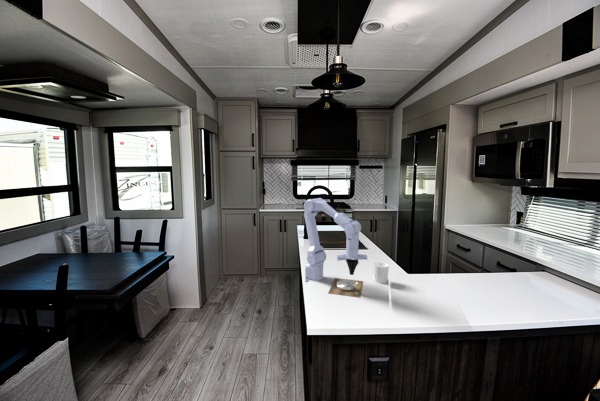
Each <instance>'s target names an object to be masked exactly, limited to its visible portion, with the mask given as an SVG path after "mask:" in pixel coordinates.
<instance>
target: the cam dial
mask: <svg viewBox="0 0 600 401" xmlns="http://www.w3.org/2000/svg"><path fill="white" fill-rule="evenodd" d="M351 280H352V279H348V280H340V281H338V282H337V283H336V287H337V288H338V289H340V290H343V291H353V290H356V291H357V292H360V291H361V282H359V281H360V280H357V282H356V283H355V282H354V281H351ZM361 292H362V291H361Z"/></svg>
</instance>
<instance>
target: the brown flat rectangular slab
mask: <svg viewBox="0 0 600 401" xmlns="http://www.w3.org/2000/svg"><path fill="white" fill-rule="evenodd" d="M340 280H349V279H347V278H339V277H334V279H333V281H332V283H331V285H330V288H329V290H328V293H327V294H329V295H336V296H337V295H338V296H342V297H343V296H344V297H351V298H352V297H353V298H360V299H361V297H362V296H361V295H362V291H363V284H364V281H363V280H357V279H350V280H351V281H354V282H355V283H356V282H357V281H359V282H361V291H360V292H357V291H356V290H353V291H343V290H340V289H338V288H337V287H336V283H337V282H338V281H340Z"/></svg>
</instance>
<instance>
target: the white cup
mask: <svg viewBox="0 0 600 401" xmlns="http://www.w3.org/2000/svg"><path fill="white" fill-rule="evenodd" d="M389 267H390V266H389V264H388V263H387V262H385V261H375V262H373V263H372V277H373V282H375V283H377V284H386V283H387V282H388V276H389Z"/></svg>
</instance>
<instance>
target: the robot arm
mask: <svg viewBox="0 0 600 401" xmlns="http://www.w3.org/2000/svg"><path fill="white" fill-rule="evenodd" d="M303 209H304V213H303V216H304V221H305V226H306V227H305V228H306V233H307V238H308V244H309V247H308V250H307V251H306V254H307V255H306V261H307V263H306V264H305V270H304V272H305V275H304V276H305V277H304V282H309V281H310V280H312V281H322V280H323V279H324V263H325V262H326V260H327V254H326V252H325V249H324V247H323V246H322V245H321V242H320V237H319V232H318V227H317V223H316V216H317V214H318V213H319V212H324V213H325V214H327V215H328V216H330V217H332V218H333V221H334V223H336V224H337V225H338V226H339V227H341V228H342V229H343V230H344V233H345V237H346V238H345V239H346V243H345V247H346V249H345V254H340V255H336V260H337V261H345V262H346V264H347V267H348V271H349V275H351V276H354V275H355V274H354V273H355V271H356V269H357V266H358V265H359V263H360V262H359V260H364V261H367V260H368V255H367V254H360V253H359V242H360V241H359V237H360V232H361V231H362V225H361V222H359V220H354V219H352V218H350V217H349V216H347V215H346V213H345V212H338V211H336V210H335V209H334V208H333V207H332V206H330V205H329V204H328V203H327V201H326V200H325V199H323V198H321V197H318V198H309V199H307V200H306V201H304V204H303Z"/></svg>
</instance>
